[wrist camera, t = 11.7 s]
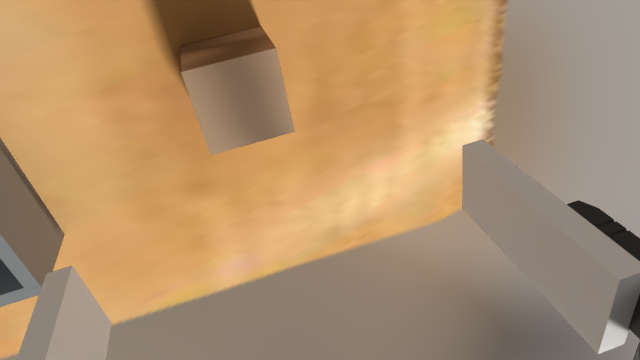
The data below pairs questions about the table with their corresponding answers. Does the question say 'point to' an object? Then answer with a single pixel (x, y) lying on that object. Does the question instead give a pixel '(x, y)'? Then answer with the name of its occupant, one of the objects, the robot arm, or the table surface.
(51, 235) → the tote
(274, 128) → the walnut cube
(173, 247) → the table surface
